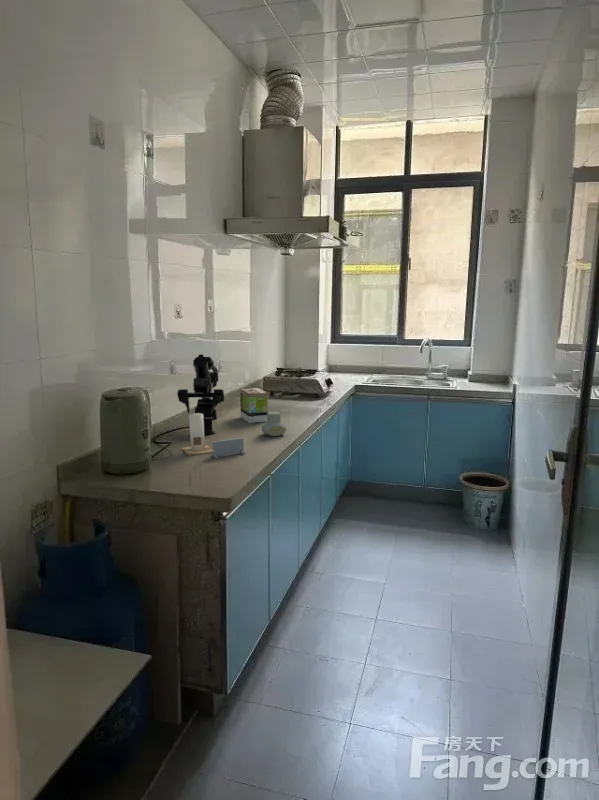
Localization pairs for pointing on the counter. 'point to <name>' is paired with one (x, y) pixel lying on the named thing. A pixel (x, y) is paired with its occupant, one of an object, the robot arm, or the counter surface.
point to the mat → (190, 452)
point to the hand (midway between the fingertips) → (199, 412)
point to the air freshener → (273, 425)
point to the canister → (197, 431)
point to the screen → (228, 447)
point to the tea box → (254, 405)
